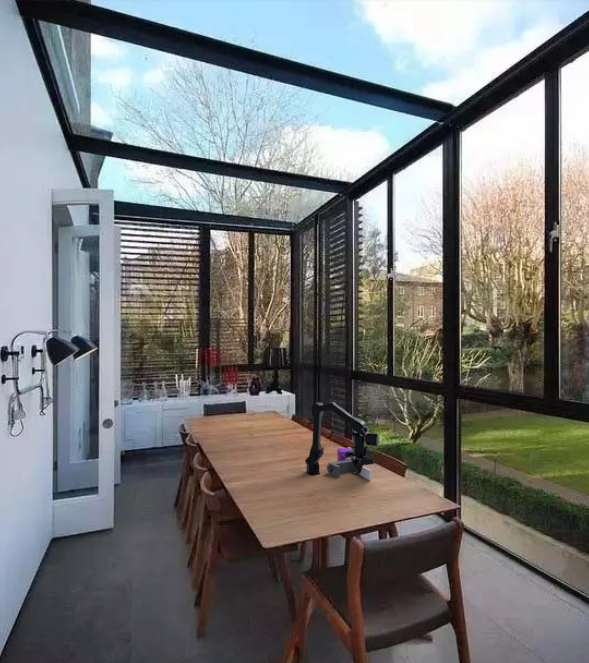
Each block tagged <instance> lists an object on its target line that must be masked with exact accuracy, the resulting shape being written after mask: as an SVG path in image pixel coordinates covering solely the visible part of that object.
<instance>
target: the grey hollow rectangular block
mask: <svg viewBox="0 0 589 663" xmlns="http://www.w3.org/2000/svg"><path fill="white" fill-rule="evenodd" d="M326 472H327V473H328V474H329V475H330V476H333V477H334V478H336V479H340V478H341V475H343V474H348V473H355V474H356V475H359V474H358V472H357V470H356V468H355V466H354V464H353V462H352V461H351V459H349V460H343V461H337V460H336V461H332V462H331V461H330V462H328V465H326Z"/></svg>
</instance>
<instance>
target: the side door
mask: <svg viewBox="0 0 589 663" xmlns="http://www.w3.org/2000/svg"><path fill="white" fill-rule="evenodd" d="M357 475H360V476H362V477H363V478H365V479H367V480H369V481H371V480H372V470H371V469H369V468H367V467H365V465H363V467H362V470H361V473H360V474H359V473H358V474H357Z"/></svg>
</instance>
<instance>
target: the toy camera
mask: <svg viewBox="0 0 589 663" xmlns="http://www.w3.org/2000/svg"><path fill="white" fill-rule="evenodd" d="M351 447H352V446H351ZM351 447H350V446H347V447H339V448H337V449H336V450H337V451H336V461H343V460H349V459H352V456H349V457H346V456H345V453H346V451H351V450H354V448H351Z"/></svg>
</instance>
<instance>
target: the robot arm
mask: <svg viewBox="0 0 589 663" xmlns="http://www.w3.org/2000/svg"><path fill="white" fill-rule="evenodd" d="M326 411H332V412H333V413H334V414H336V415H337V416H338V417H340V418H341V419H342V420H344V422H346V423H347V424H348V425H349V427H350V428H351V429H352V430H353V431H352V432H351V433H350V434H349V436H351V437H353V445H352V446H351V447H352V449H353V450H351V451H346V453H345V456H346V457H349V456H352V459H351V461H352V462H353V464H354V466H355V468H356V470H357V472H358V473H359V474H358V475H360V473H361V470H362V467H363V466H368V465H374V464H375V460H374V458H373V457H374V453H375V451H374V450H371V449H369V448H368V447H367V446H371V447H379V446H380V438H379V433H378V432H370V431H369V429H368V428H367V426H366V422H365V421H364V420H362V419H361V418H358V417H356V416H353V415H352V414H350V413H349V412H347V411H346V410H345V409H344V408H342V407H341V406H340V405H338V404H337V403H336V402H335V401H331V402H320V401H319V402H315V403H314V404H312V405H311V407H310V412H311V416H312V420H313V422H312V424H313V425H312V445H311V447H310V450H309V455H308V457H307V458H306V459H305V464H306V471H304V473H306V474H307V475H308V476H316V475H320V474H321V472H320V464H319V461H320V459H321V458H322V457H323V455H324V454H325V453H324V449H325V447H324V446H322V445H321V437H322V435H321V434H322V419H323V415H324V412H326ZM365 445H367V446H365Z"/></svg>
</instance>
